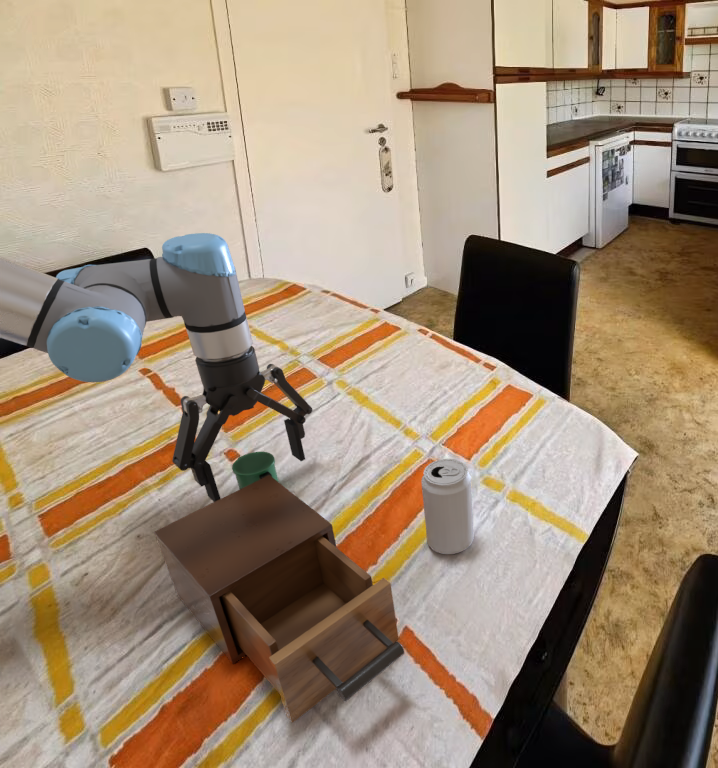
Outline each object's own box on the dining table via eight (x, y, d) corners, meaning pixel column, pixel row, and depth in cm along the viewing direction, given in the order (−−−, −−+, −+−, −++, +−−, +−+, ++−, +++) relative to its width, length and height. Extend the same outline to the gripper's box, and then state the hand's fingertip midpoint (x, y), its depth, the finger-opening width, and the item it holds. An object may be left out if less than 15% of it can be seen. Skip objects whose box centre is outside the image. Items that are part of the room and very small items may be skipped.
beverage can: (431, 525, 88) (424, 456, 83) (476, 526, 88) (472, 456, 82) (424, 558, 83) (416, 485, 77) (472, 558, 83) (468, 486, 77)
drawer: (433, 669, 67) (426, 612, 63) (325, 763, 58) (309, 703, 54) (331, 579, 78) (320, 525, 74) (228, 646, 70) (209, 590, 66)
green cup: (230, 490, 96) (221, 461, 93) (266, 473, 100) (259, 444, 97) (255, 512, 91) (246, 482, 89) (291, 493, 95) (285, 464, 93)
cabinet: (344, 589, 78) (332, 524, 73) (233, 664, 69) (209, 596, 64) (284, 536, 87) (269, 474, 82) (178, 596, 78) (153, 531, 72)
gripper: (292, 316, 94) (316, 433, 105) (114, 375, 78) (163, 507, 89) (320, 329, 90) (342, 450, 100) (137, 394, 74) (186, 530, 84)
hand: (258, 477), depth 94 cm, fingers open, 13 cm apart
